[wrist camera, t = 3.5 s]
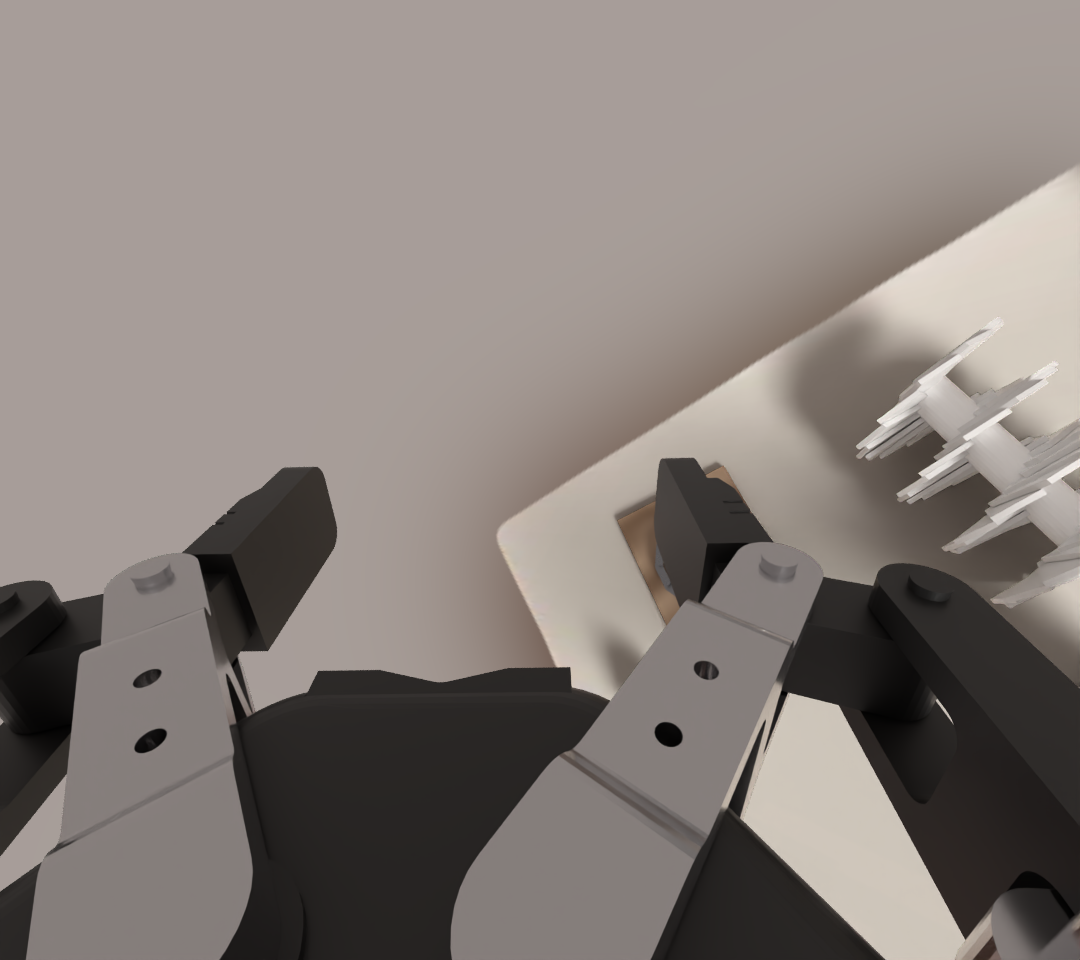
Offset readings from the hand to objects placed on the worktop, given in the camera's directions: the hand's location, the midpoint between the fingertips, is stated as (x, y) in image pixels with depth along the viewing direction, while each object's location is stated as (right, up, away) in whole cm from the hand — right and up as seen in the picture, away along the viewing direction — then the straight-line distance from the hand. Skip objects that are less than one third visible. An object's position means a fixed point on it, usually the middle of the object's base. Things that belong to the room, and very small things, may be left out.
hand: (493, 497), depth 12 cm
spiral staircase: (+50, -1, +43) cm, 66 cm away
